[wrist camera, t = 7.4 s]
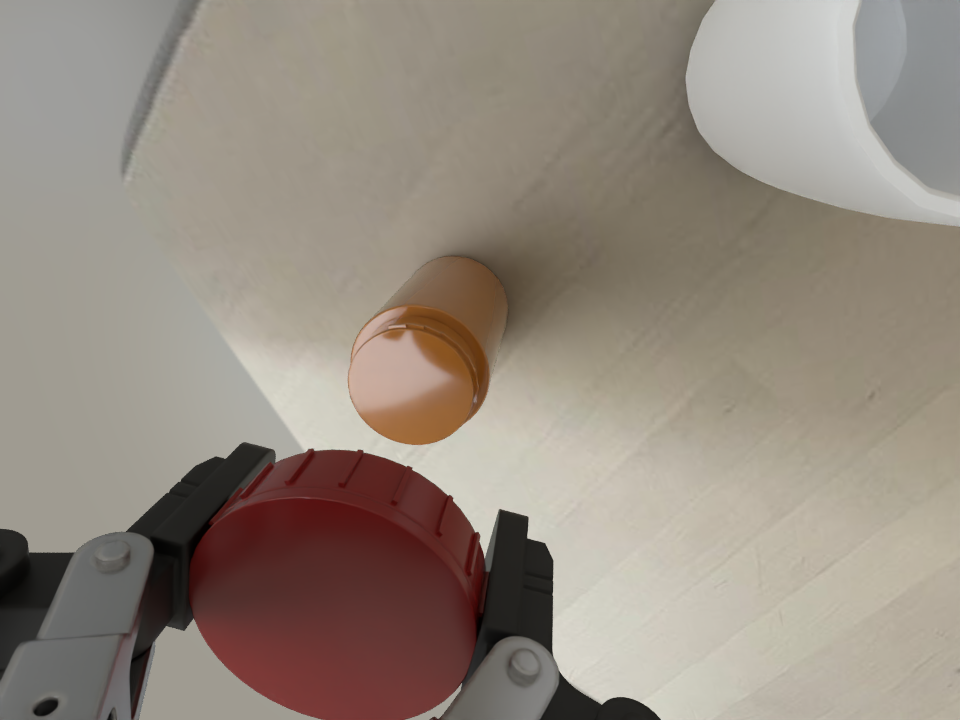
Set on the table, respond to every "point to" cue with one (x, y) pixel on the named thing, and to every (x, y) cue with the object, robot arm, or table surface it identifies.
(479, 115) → the table surface
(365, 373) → the jam jar
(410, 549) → the jar lid
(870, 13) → the cup
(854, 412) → the table surface
